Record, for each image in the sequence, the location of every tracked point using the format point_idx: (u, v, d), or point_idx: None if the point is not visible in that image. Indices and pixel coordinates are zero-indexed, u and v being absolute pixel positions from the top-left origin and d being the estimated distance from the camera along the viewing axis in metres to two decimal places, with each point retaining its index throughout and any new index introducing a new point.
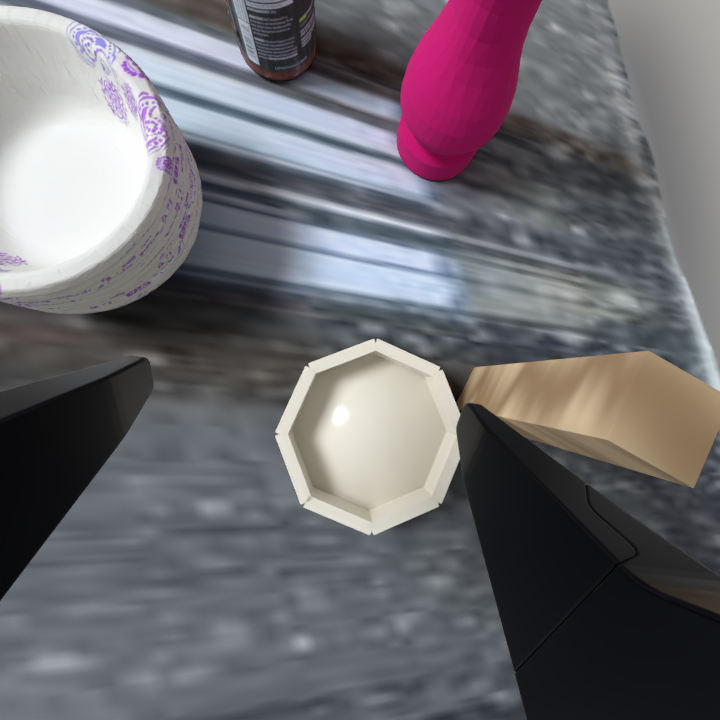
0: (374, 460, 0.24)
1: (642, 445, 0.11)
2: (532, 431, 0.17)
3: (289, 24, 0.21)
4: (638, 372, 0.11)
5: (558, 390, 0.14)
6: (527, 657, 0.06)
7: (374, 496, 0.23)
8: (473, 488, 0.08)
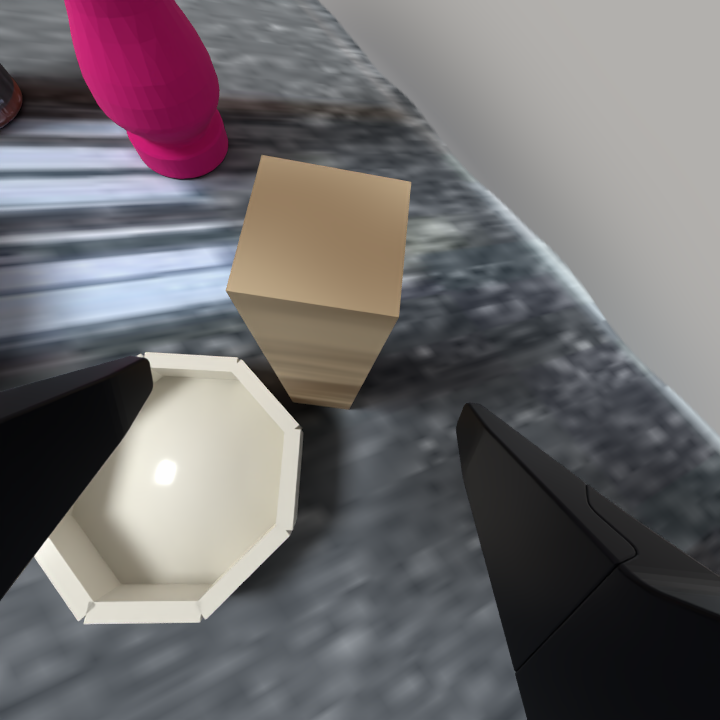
0: (202, 510, 0.17)
1: (291, 281, 0.07)
2: (310, 374, 0.12)
3: None
4: None
5: None
6: (527, 657, 0.06)
7: (216, 560, 0.17)
8: (473, 488, 0.08)
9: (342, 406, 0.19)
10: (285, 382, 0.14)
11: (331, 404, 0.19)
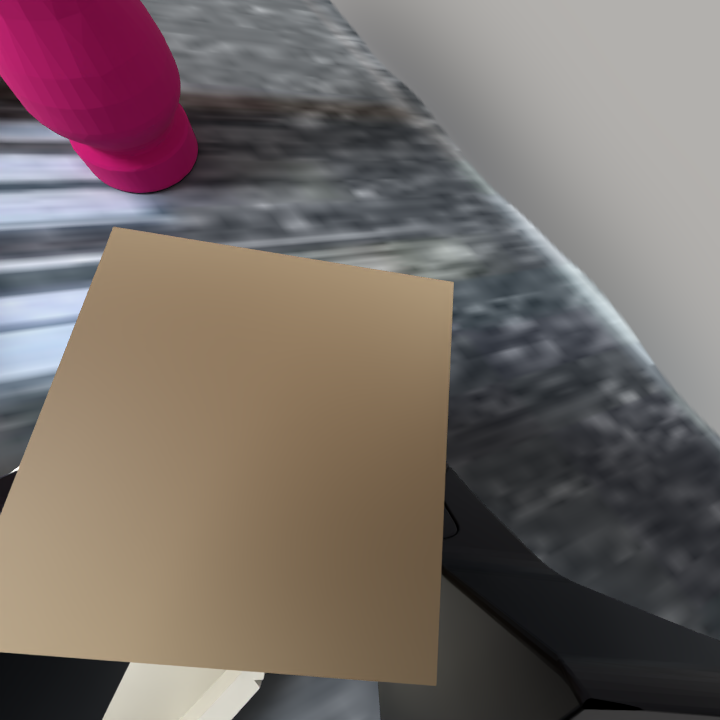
0: None
1: (149, 591, 0.02)
2: None
3: None
4: (83, 306, 0.03)
5: None
6: None
7: (165, 705, 0.13)
8: None
9: None
10: None
11: None
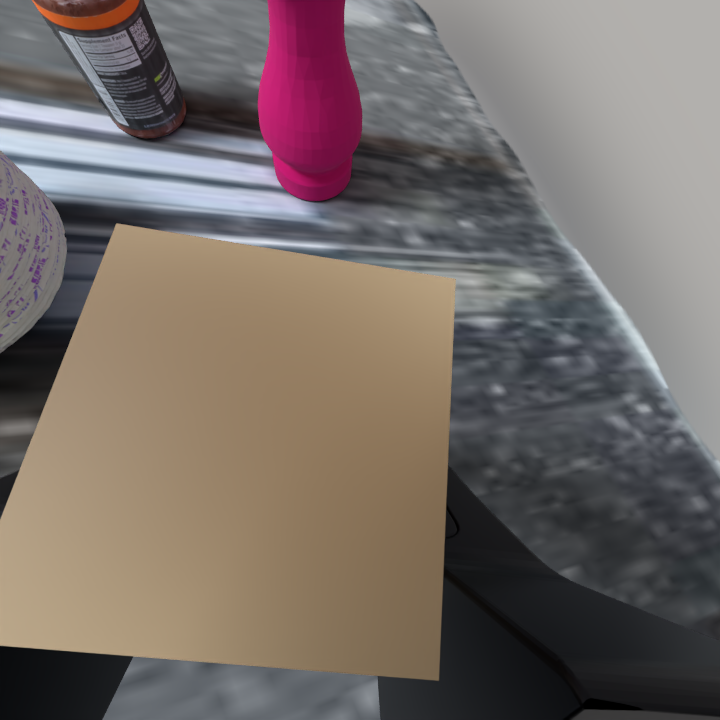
0: None
1: (152, 586, 0.02)
2: None
3: (145, 83, 0.23)
4: (86, 302, 0.03)
5: None
6: None
7: None
8: None
9: None
10: None
11: None
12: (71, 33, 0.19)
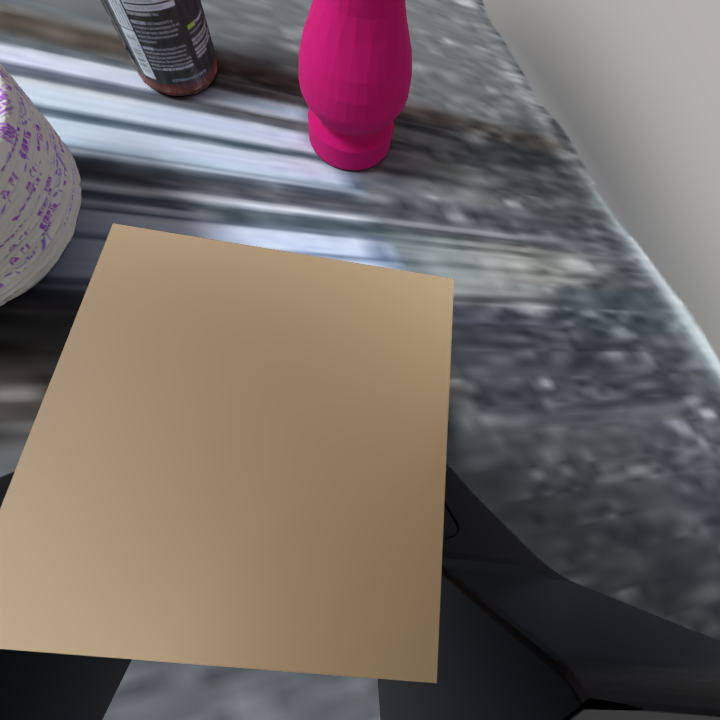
0: None
1: (148, 588, 0.02)
2: None
3: (177, 29, 0.21)
4: (82, 302, 0.03)
5: None
6: None
7: None
8: None
9: None
10: None
11: None
12: None
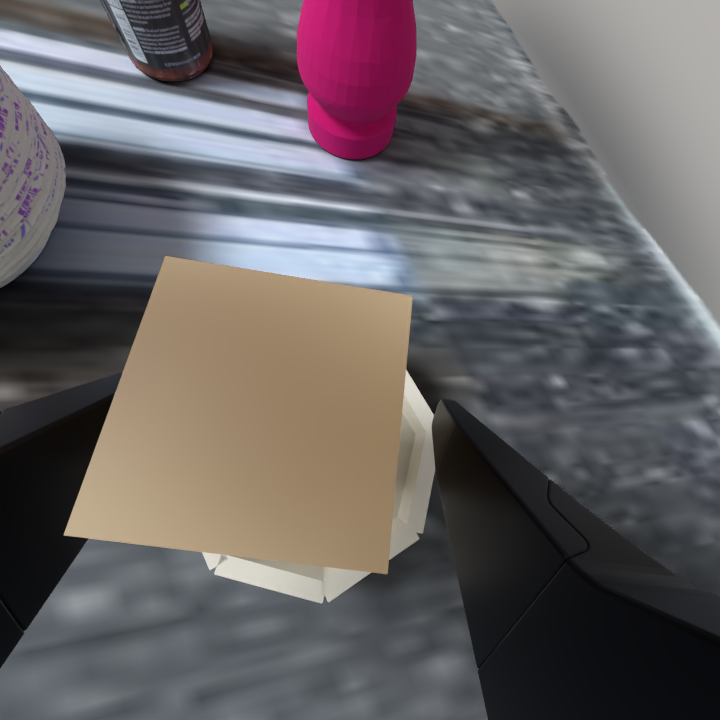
0: None
1: (192, 505, 0.04)
2: None
3: (169, 8, 0.20)
4: (145, 312, 0.04)
5: None
6: (488, 654, 0.06)
7: None
8: (444, 485, 0.08)
9: None
10: None
11: None
12: None
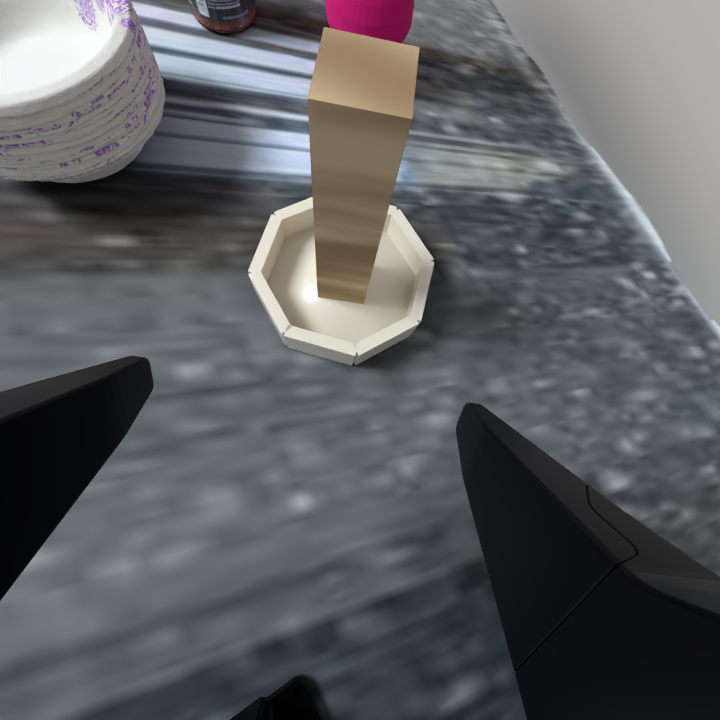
0: (351, 306, 0.24)
1: (346, 96, 0.11)
2: (341, 229, 0.16)
3: None
4: (320, 43, 0.11)
5: None
6: (527, 657, 0.06)
7: (356, 339, 0.23)
8: (473, 488, 0.08)
9: (358, 297, 0.23)
10: (318, 251, 0.18)
11: (350, 294, 0.23)
12: None
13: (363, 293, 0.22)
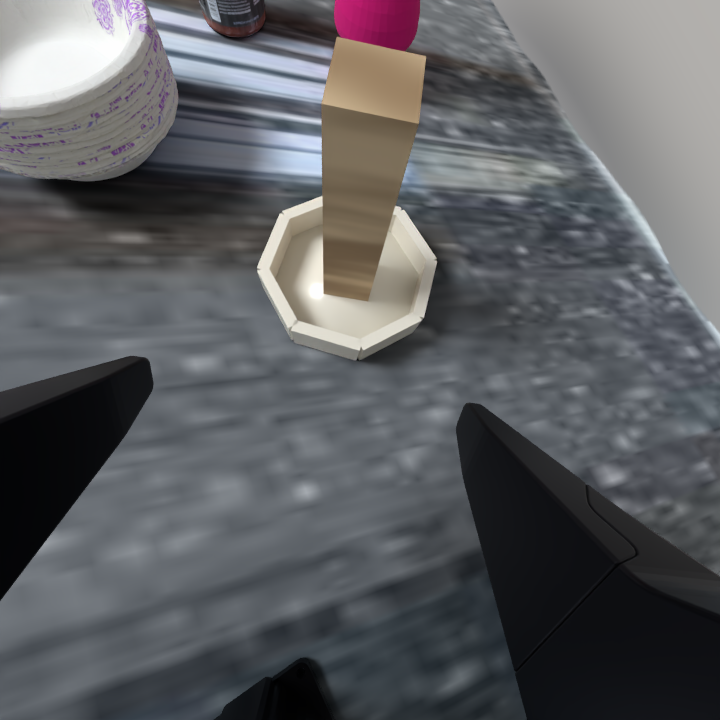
0: (355, 303, 0.25)
1: (357, 102, 0.11)
2: (348, 228, 0.17)
3: None
4: (333, 52, 0.12)
5: None
6: (527, 657, 0.06)
7: (360, 335, 0.24)
8: (473, 488, 0.08)
9: (363, 294, 0.24)
10: (326, 249, 0.19)
11: (355, 291, 0.24)
12: None
13: (368, 290, 0.23)
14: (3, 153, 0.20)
